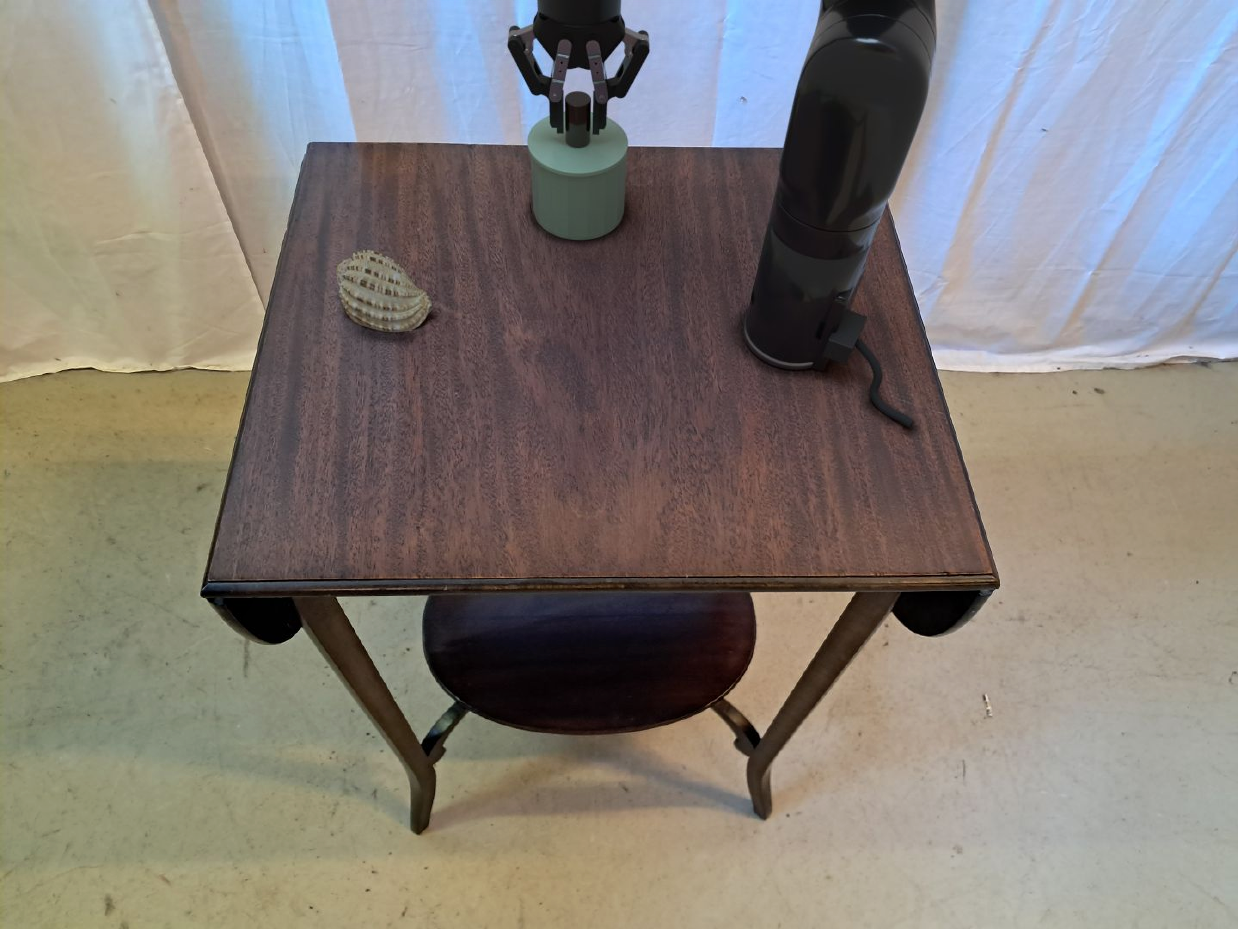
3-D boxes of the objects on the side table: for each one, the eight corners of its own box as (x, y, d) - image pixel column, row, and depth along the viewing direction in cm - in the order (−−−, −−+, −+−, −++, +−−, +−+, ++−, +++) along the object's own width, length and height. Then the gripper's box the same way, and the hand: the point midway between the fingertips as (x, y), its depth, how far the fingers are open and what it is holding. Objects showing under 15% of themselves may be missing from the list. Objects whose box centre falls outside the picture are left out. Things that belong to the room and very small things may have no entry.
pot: (622, 181, 101) (626, 116, 94) (624, 241, 96) (628, 176, 89) (535, 179, 101) (532, 114, 94) (531, 239, 95) (528, 174, 88)
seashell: (431, 304, 93) (338, 262, 90) (449, 268, 88) (352, 223, 85) (411, 358, 89) (313, 316, 85) (429, 324, 84) (326, 279, 81)
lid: (626, 120, 95) (629, 69, 90) (628, 183, 89) (632, 132, 84) (529, 118, 94) (527, 66, 89) (525, 180, 88) (522, 129, 84)
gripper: (494, -28, 73) (507, 150, 87) (663, -22, 74) (648, 154, 88) (499, -72, 77) (510, 105, 91) (659, -66, 78) (645, 109, 92)
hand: (578, 128), depth 90 cm, fingers open, 3 cm apart
